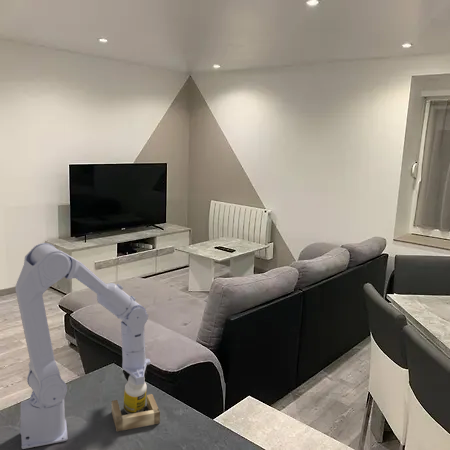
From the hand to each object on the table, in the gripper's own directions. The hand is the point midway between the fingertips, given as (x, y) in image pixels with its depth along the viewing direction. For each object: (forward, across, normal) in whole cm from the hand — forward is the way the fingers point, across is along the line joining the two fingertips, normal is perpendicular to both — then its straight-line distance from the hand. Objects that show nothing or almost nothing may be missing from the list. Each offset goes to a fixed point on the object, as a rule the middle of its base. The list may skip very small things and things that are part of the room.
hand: (135, 395), depth 117 cm
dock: (+2, -5, +1) cm, 6 cm away
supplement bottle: (+2, -2, +1) cm, 3 cm away
